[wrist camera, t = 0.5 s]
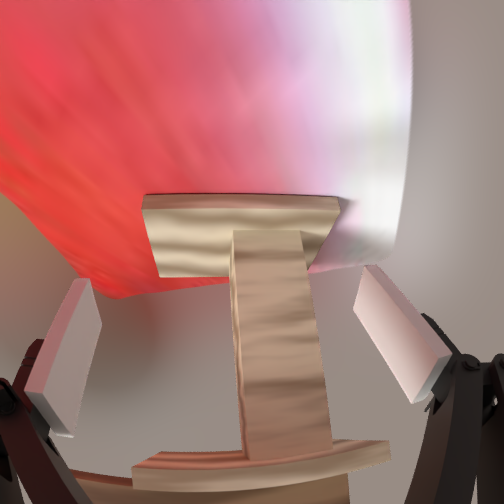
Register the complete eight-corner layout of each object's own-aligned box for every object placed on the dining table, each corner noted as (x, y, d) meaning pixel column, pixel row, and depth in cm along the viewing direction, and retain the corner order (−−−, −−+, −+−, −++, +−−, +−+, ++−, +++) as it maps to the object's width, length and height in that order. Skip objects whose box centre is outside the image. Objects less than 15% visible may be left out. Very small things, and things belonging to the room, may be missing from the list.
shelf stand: (143, 195, 33) (133, 492, 18) (336, 197, 36) (391, 462, 21) (160, 265, 46) (162, 467, 32) (303, 263, 50) (330, 453, 35)
